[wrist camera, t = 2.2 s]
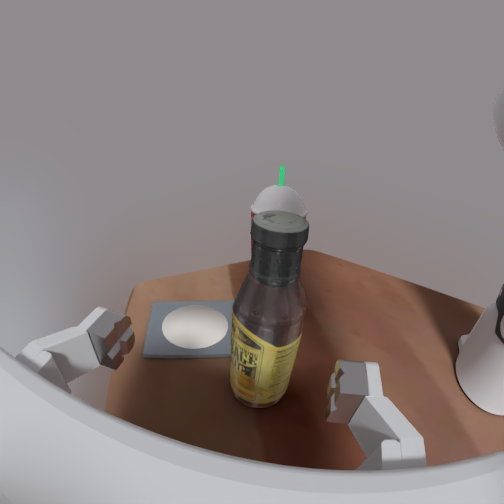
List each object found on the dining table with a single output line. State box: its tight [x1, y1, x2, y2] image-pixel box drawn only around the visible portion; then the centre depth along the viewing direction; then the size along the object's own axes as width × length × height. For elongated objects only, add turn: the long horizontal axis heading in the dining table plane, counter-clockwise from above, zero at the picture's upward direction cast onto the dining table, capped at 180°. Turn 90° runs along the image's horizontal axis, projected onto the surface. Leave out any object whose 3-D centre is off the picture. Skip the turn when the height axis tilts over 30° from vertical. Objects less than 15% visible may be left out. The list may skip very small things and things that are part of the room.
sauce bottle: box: [230, 210, 309, 408], centre depth 25 cm, size 7×6×20 cm
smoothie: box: [251, 166, 307, 250], centre depth 44 cm, size 8×8×20 cm
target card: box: [142, 301, 234, 358], centre depth 38 cm, size 13×11×1 cm
